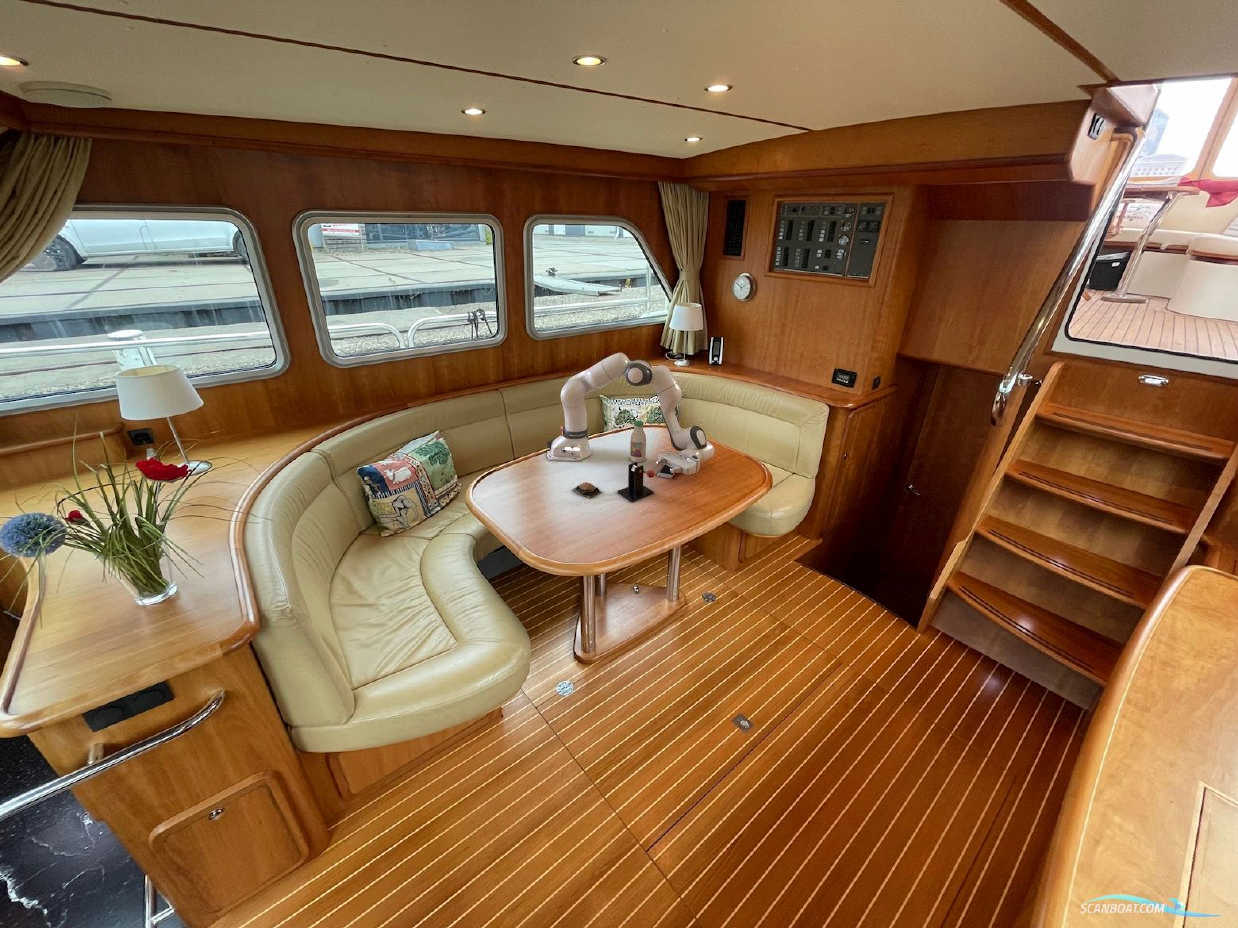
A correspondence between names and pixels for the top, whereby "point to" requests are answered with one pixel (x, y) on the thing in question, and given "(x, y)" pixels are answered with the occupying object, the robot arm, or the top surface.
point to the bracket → (635, 484)
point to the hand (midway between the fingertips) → (663, 467)
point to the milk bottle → (638, 443)
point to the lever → (649, 473)
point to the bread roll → (587, 490)
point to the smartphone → (666, 472)
